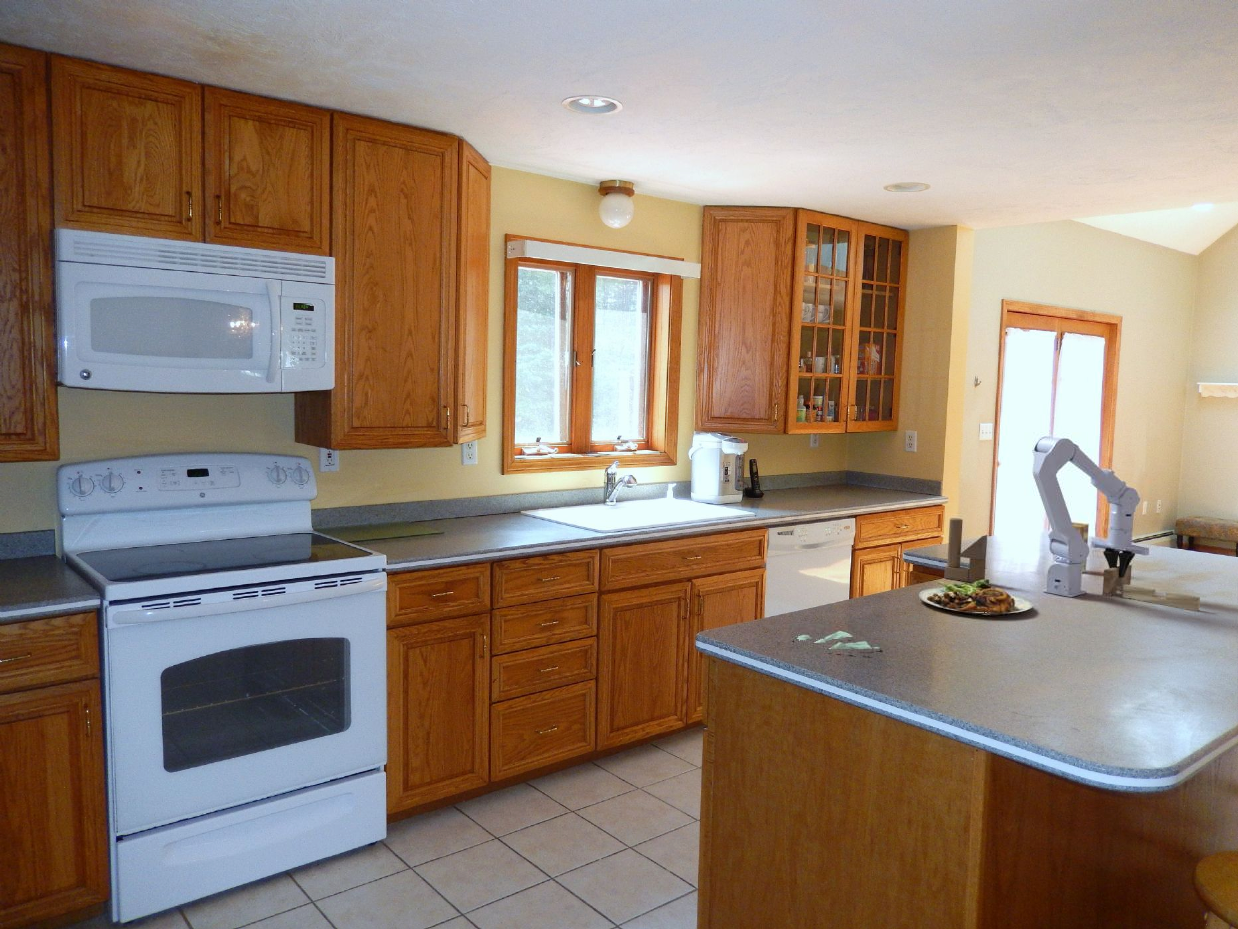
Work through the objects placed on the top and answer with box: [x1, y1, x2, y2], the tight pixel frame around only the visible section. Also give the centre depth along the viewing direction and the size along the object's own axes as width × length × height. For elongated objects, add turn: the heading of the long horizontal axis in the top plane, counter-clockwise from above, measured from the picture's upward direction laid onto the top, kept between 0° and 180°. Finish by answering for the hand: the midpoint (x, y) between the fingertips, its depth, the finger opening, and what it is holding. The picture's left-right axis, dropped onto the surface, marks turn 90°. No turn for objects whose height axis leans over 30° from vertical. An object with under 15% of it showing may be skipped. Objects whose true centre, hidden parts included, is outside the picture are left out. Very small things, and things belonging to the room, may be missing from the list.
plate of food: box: [918, 578, 1034, 616], centre depth 232 cm, size 28×28×6 cm
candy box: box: [1052, 521, 1090, 574], centre depth 279 cm, size 9×4×15 cm, turn 44°
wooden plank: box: [1102, 564, 1133, 596], centre depth 250 cm, size 14×2×7 cm, turn 128°
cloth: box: [797, 630, 882, 650], centre depth 194 cm, size 20×22×2 cm
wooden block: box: [944, 517, 988, 584], centre depth 261 cm, size 4×11×18 cm, turn 47°
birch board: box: [1122, 584, 1201, 612], centre depth 237 cm, size 2×18×4 cm, turn 38°
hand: (1117, 576), depth 250 cm, fingers closed on wooden plank, 2 cm apart
